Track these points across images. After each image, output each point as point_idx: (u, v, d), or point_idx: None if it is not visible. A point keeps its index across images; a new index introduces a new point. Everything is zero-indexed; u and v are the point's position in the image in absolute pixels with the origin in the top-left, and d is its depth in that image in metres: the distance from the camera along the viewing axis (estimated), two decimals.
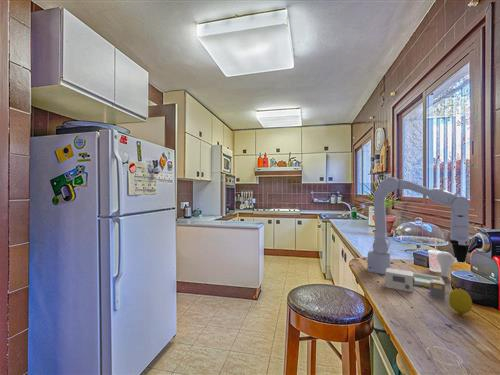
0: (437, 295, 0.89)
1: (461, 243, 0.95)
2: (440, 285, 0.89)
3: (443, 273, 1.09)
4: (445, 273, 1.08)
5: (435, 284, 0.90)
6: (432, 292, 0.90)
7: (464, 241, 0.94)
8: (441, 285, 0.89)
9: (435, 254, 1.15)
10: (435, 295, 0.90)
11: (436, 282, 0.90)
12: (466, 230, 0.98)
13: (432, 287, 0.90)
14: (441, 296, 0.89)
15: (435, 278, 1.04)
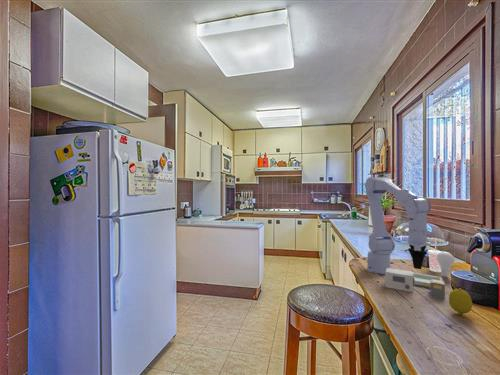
0: (437, 295, 0.89)
1: (416, 248, 0.89)
2: (440, 285, 0.89)
3: (443, 273, 1.09)
4: (445, 273, 1.08)
5: (435, 284, 0.90)
6: (432, 292, 0.90)
7: (419, 246, 0.89)
8: (441, 285, 0.89)
9: (435, 254, 1.15)
10: (435, 295, 0.90)
11: (436, 282, 0.90)
12: (423, 235, 0.92)
13: (432, 287, 0.90)
14: (441, 296, 0.89)
15: (435, 278, 1.04)
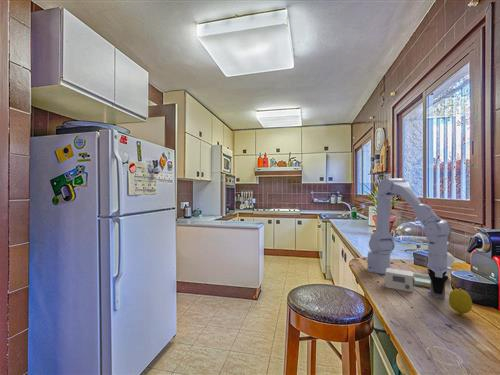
0: (437, 295, 0.89)
1: (438, 275, 0.85)
2: None
3: None
4: None
5: None
6: (432, 292, 0.90)
7: (441, 273, 0.84)
8: None
9: None
10: (435, 295, 0.90)
11: None
12: (444, 259, 0.88)
13: (432, 286, 0.90)
14: (441, 296, 0.89)
15: None
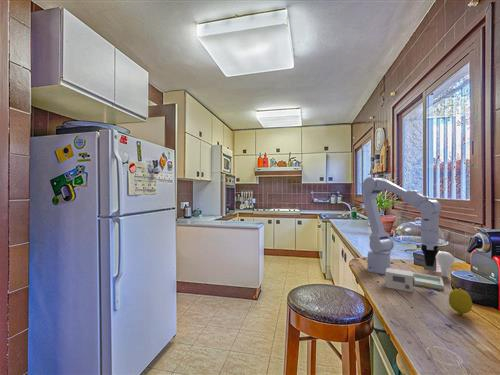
0: (429, 268, 0.97)
1: (429, 248, 0.93)
2: None
3: (443, 273, 1.09)
4: (445, 273, 1.08)
5: None
6: (425, 266, 0.98)
7: (432, 246, 0.92)
8: None
9: None
10: (427, 268, 0.97)
11: None
12: (435, 234, 0.96)
13: None
14: (433, 269, 0.96)
15: (435, 278, 1.04)
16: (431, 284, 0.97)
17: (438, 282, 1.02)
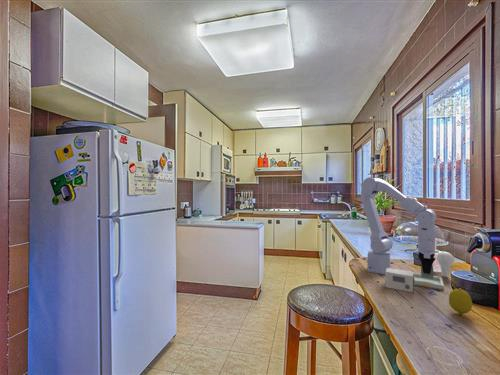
0: (426, 276, 1.01)
1: (426, 256, 0.97)
2: None
3: (443, 273, 1.09)
4: (445, 273, 1.08)
5: None
6: (422, 273, 1.02)
7: (429, 254, 0.96)
8: None
9: (435, 254, 1.15)
10: (425, 276, 1.01)
11: None
12: (432, 243, 1.00)
13: (422, 269, 1.02)
14: (430, 277, 1.00)
15: (435, 278, 1.04)
16: (431, 284, 0.97)
17: (438, 282, 1.02)
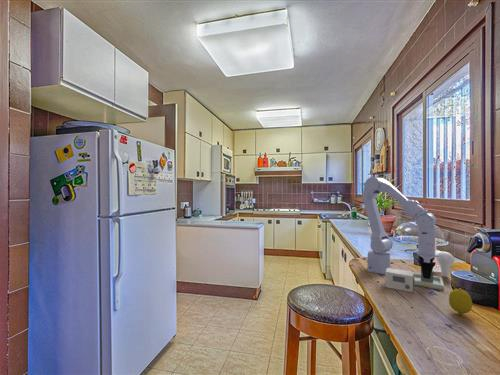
0: (426, 281, 1.01)
1: (426, 260, 0.97)
2: None
3: (443, 273, 1.09)
4: (445, 273, 1.08)
5: None
6: (422, 279, 1.02)
7: (429, 259, 0.96)
8: None
9: None
10: (424, 281, 1.01)
11: None
12: (432, 247, 1.00)
13: (422, 274, 1.02)
14: (430, 282, 1.00)
15: (435, 278, 1.04)
16: (431, 284, 0.97)
17: (438, 282, 1.02)
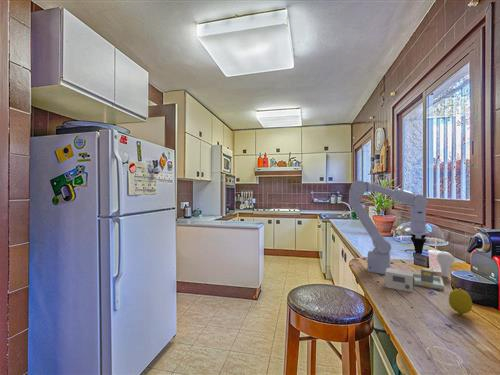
0: (426, 281, 1.01)
1: (417, 236, 1.06)
2: (429, 272, 1.00)
3: (443, 273, 1.09)
4: (445, 273, 1.08)
5: (425, 271, 1.01)
6: (422, 279, 1.02)
7: (420, 235, 1.05)
8: (430, 272, 1.00)
9: (435, 254, 1.15)
10: (424, 281, 1.01)
11: (426, 270, 1.02)
12: (423, 225, 1.09)
13: (422, 274, 1.02)
14: (430, 282, 1.00)
15: (435, 278, 1.04)
16: (431, 284, 0.97)
17: (438, 282, 1.02)
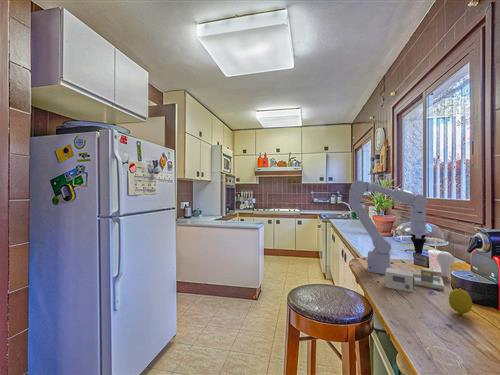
0: (426, 281, 1.01)
1: (417, 236, 1.06)
2: (429, 272, 1.00)
3: (443, 273, 1.09)
4: (445, 273, 1.08)
5: (425, 271, 1.01)
6: (422, 279, 1.02)
7: (420, 235, 1.05)
8: (430, 272, 1.00)
9: (435, 254, 1.15)
10: (424, 281, 1.01)
11: (426, 270, 1.02)
12: (423, 225, 1.09)
13: (422, 274, 1.02)
14: (430, 282, 1.00)
15: (435, 278, 1.04)
16: (431, 284, 0.97)
17: (438, 282, 1.02)
